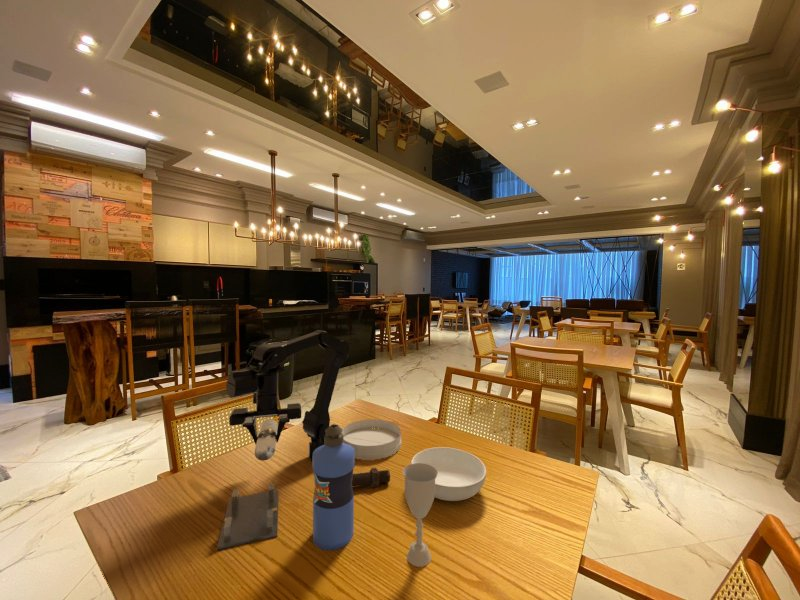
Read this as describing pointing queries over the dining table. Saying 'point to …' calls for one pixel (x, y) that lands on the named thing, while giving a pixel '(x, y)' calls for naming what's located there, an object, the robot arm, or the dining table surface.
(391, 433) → the dish
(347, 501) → the water bottle
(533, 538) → the dining table surface
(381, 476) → the bolt
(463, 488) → the serving bowl
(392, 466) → the dining table surface
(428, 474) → the chalice
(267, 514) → the collar cradle
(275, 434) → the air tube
